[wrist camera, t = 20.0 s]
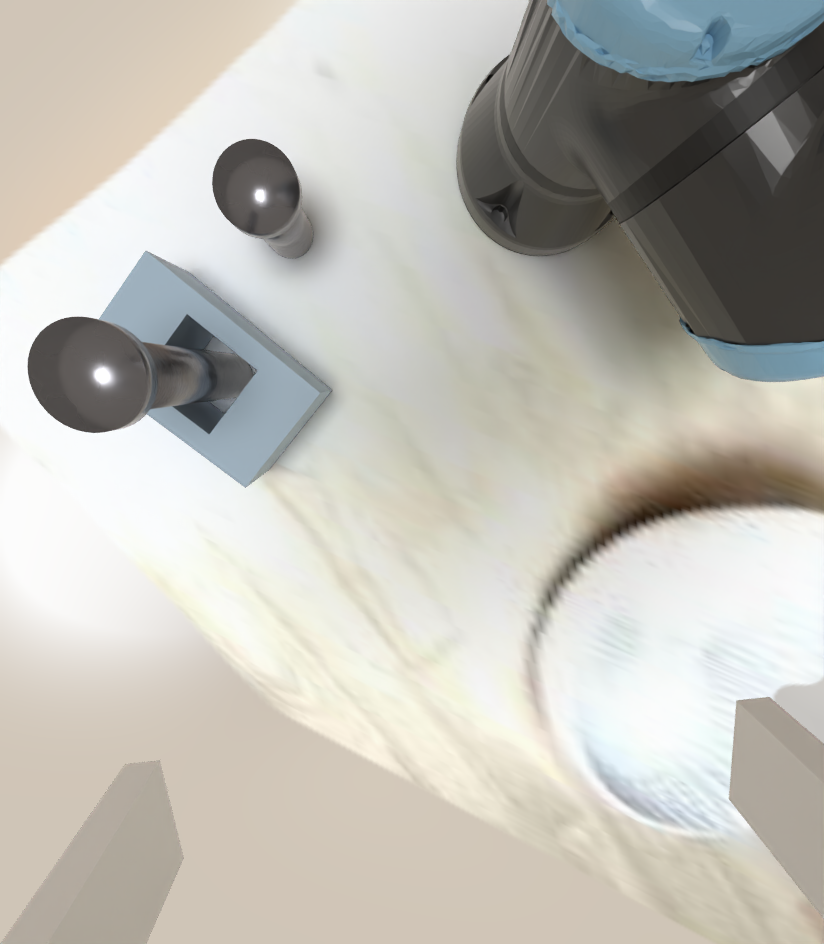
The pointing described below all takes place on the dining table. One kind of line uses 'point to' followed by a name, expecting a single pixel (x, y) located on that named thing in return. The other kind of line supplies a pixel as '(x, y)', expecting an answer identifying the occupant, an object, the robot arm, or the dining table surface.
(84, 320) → the tall pin
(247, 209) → the short pin
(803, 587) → the dining table surface
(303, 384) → the guide block
